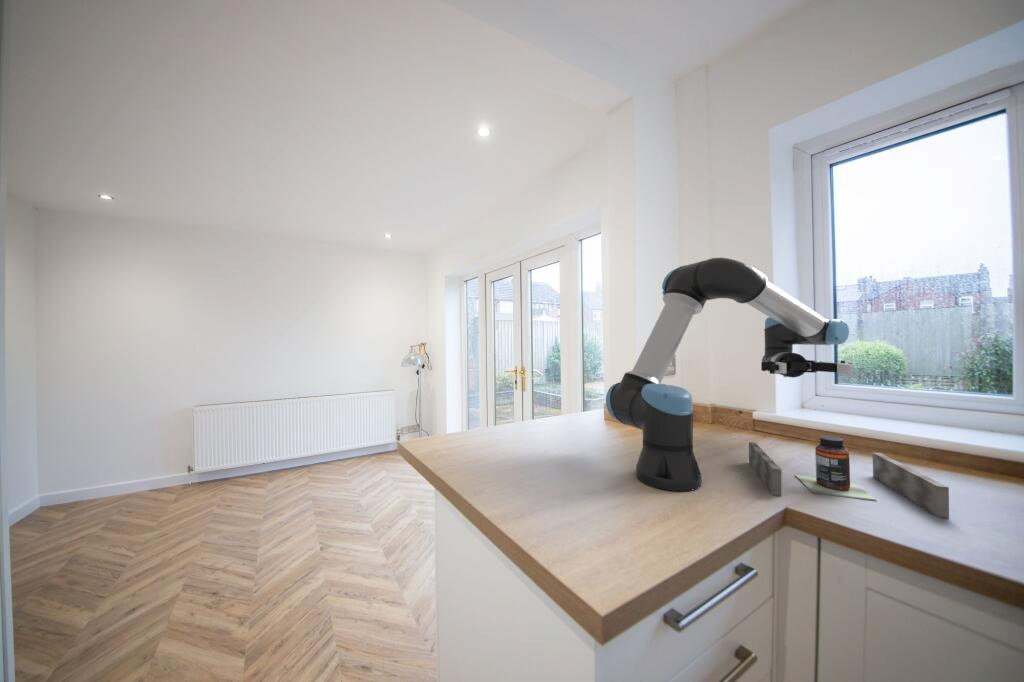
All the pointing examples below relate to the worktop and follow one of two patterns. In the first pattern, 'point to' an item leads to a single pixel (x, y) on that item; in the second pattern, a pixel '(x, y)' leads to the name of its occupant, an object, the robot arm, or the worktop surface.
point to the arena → (884, 469)
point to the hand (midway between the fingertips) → (817, 369)
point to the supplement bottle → (832, 463)
